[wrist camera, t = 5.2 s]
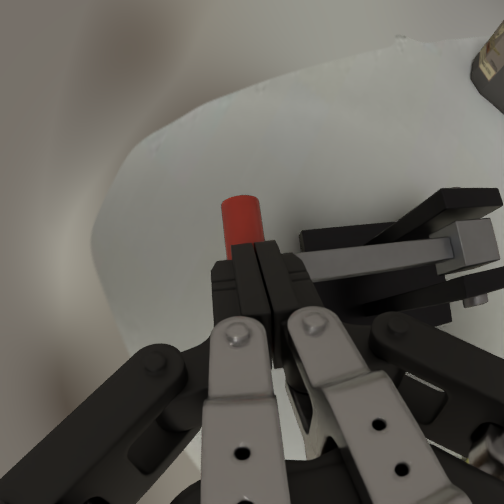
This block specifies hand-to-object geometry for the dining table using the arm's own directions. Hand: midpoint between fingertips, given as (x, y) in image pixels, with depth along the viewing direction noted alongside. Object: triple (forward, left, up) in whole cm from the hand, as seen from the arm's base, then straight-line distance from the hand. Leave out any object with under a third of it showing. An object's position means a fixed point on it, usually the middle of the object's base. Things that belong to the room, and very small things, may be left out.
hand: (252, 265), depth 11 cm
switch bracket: (+10, +4, -13) cm, 17 cm away
